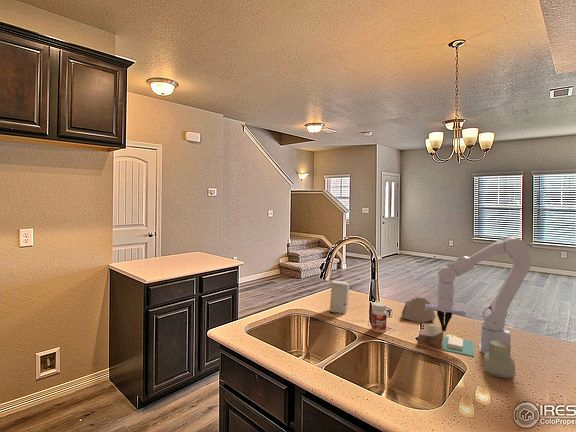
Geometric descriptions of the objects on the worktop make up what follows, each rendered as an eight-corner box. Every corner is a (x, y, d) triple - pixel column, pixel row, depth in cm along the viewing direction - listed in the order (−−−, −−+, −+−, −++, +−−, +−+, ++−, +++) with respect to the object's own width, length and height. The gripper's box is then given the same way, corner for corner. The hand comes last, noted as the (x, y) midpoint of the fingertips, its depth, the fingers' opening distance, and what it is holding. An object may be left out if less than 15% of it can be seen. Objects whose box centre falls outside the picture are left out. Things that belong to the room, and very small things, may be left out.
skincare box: (329, 311, 167) (330, 282, 166) (332, 308, 172) (333, 279, 172) (346, 314, 164) (347, 284, 163) (348, 310, 170) (349, 281, 169)
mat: (473, 342, 134) (473, 341, 134) (473, 356, 122) (473, 355, 122) (444, 336, 139) (444, 335, 139) (442, 350, 127) (442, 349, 127)
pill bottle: (376, 333, 141) (377, 307, 141) (368, 328, 147) (369, 302, 146) (389, 332, 143) (390, 306, 142) (380, 326, 149) (381, 301, 148)
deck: (442, 337, 138) (443, 328, 138) (440, 348, 128) (441, 338, 128) (422, 333, 142) (422, 324, 142) (418, 344, 132) (419, 334, 131)
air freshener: (515, 384, 104) (517, 353, 103) (484, 377, 108) (486, 347, 107) (511, 369, 113) (513, 340, 113) (483, 363, 117) (485, 335, 117)
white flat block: (449, 336, 135) (448, 339, 135) (447, 343, 128) (447, 347, 128) (463, 338, 133) (462, 342, 133) (462, 346, 126) (462, 350, 126)
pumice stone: (401, 320, 158) (402, 299, 157) (401, 314, 165) (401, 294, 164) (436, 324, 153) (437, 303, 153) (434, 318, 161) (435, 298, 160)
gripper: (424, 296, 133) (423, 329, 133) (466, 302, 126) (464, 337, 127) (426, 292, 139) (425, 324, 140) (466, 297, 132) (464, 331, 133)
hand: (443, 330), depth 134 cm, fingers closed
